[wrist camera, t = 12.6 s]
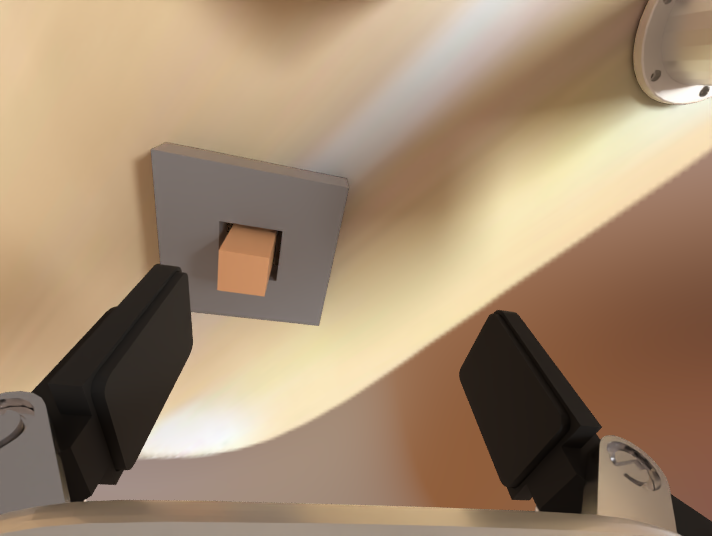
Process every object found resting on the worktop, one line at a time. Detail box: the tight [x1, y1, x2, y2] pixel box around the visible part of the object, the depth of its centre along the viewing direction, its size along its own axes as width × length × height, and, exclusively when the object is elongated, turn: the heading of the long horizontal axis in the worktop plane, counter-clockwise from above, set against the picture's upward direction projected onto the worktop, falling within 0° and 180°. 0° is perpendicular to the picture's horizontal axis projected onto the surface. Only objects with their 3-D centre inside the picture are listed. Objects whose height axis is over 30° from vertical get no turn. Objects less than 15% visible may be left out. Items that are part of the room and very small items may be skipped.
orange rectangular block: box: [217, 223, 278, 297], centre depth 31 cm, size 4×4×7 cm
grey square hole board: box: [151, 142, 349, 326], centre depth 32 cm, size 16×16×3 cm
